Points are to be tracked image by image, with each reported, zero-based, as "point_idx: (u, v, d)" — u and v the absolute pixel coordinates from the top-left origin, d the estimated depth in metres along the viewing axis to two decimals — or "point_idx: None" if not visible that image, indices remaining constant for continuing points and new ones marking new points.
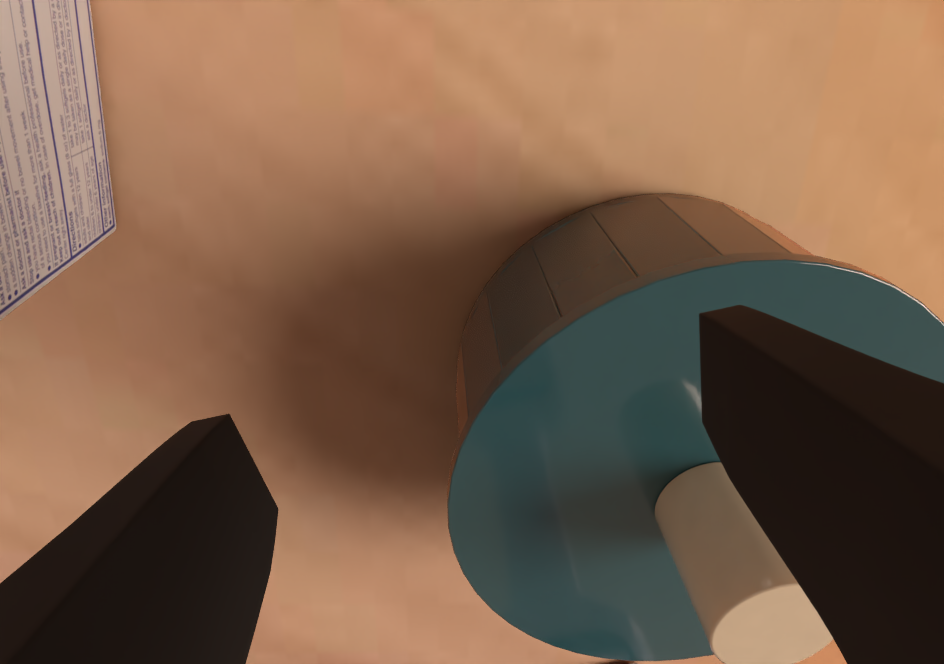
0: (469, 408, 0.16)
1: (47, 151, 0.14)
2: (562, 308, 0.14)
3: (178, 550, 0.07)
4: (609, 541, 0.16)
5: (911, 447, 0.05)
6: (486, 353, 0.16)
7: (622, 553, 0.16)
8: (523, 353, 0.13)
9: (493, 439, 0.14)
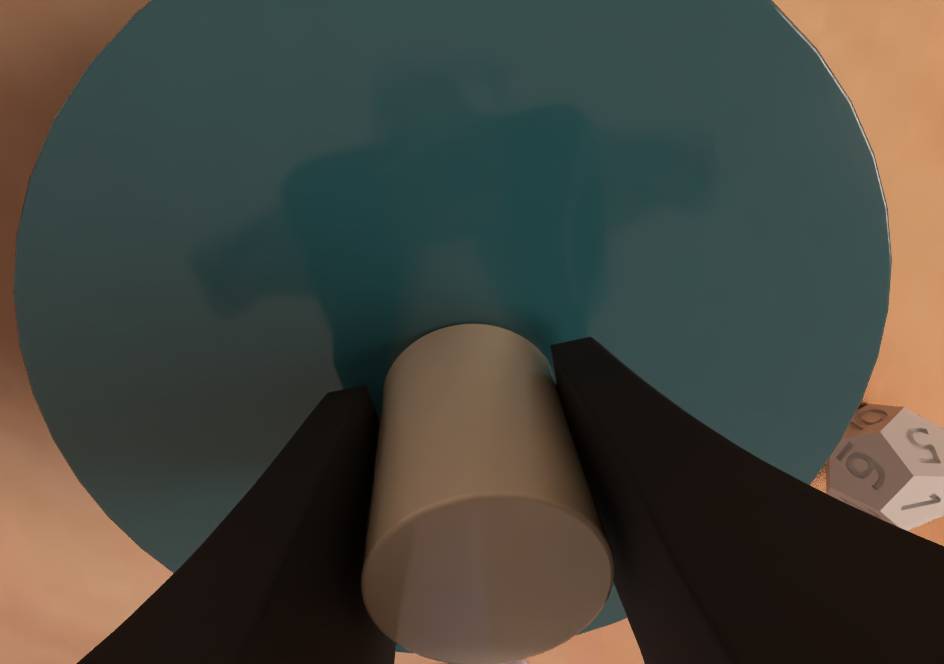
0: None
1: None
2: None
3: (348, 515, 0.07)
4: None
5: (648, 500, 0.05)
6: None
7: None
8: None
9: (63, 273, 0.08)
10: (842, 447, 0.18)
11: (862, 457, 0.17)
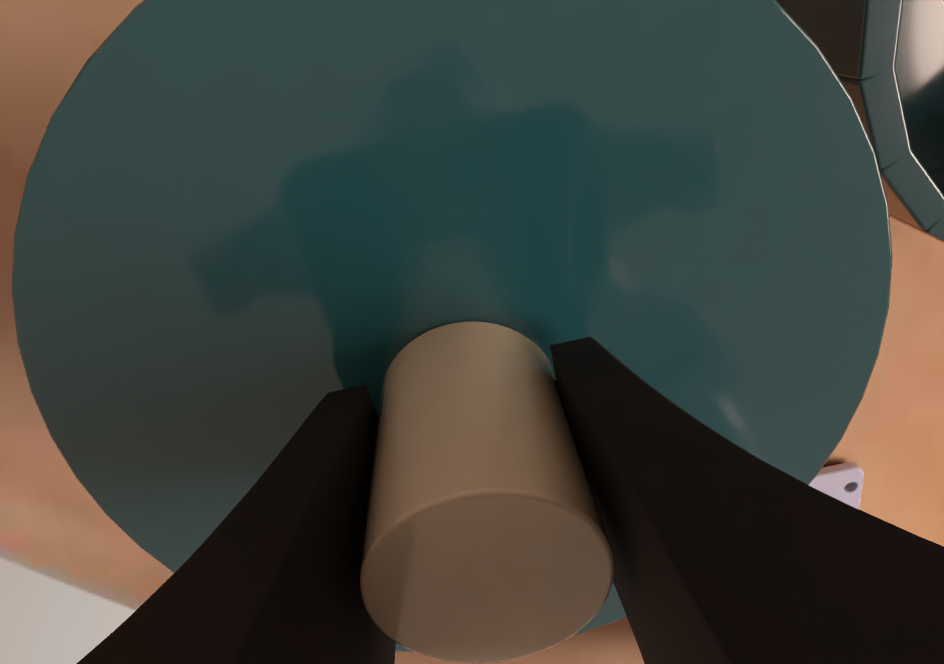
0: None
1: None
2: None
3: (348, 516, 0.07)
4: None
5: (648, 500, 0.05)
6: None
7: None
8: None
9: (61, 270, 0.08)
10: None
11: None
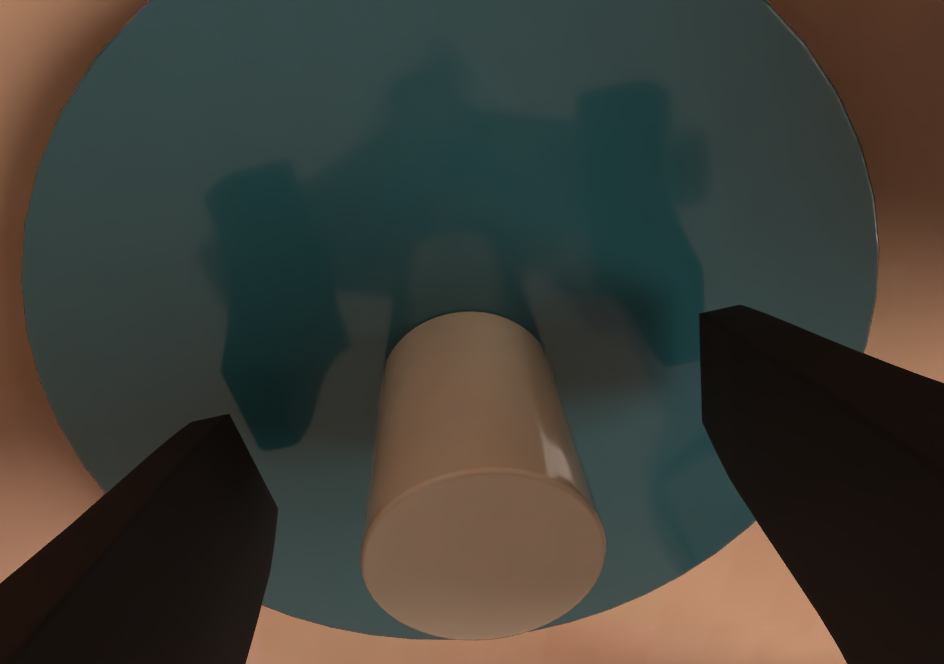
0: None
1: None
2: None
3: (178, 550, 0.07)
4: (327, 449, 0.10)
5: (911, 447, 0.05)
6: None
7: (353, 470, 0.11)
8: None
9: (70, 260, 0.09)
10: None
11: None
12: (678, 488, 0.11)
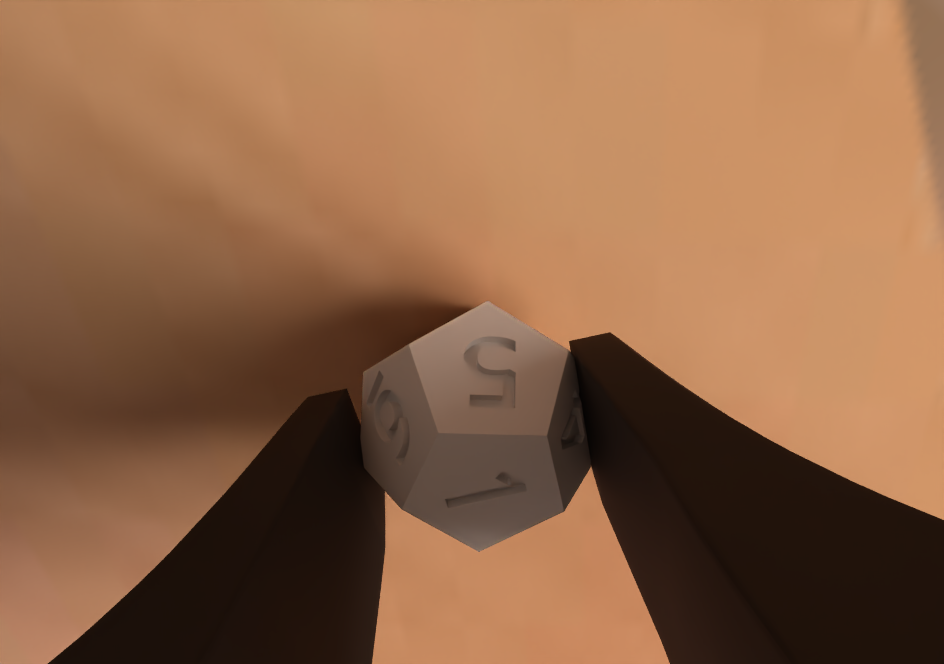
0: None
1: None
2: None
3: (324, 521, 0.07)
4: None
5: (682, 493, 0.05)
6: None
7: None
8: None
9: None
10: (374, 383, 0.09)
11: (396, 402, 0.09)
12: None
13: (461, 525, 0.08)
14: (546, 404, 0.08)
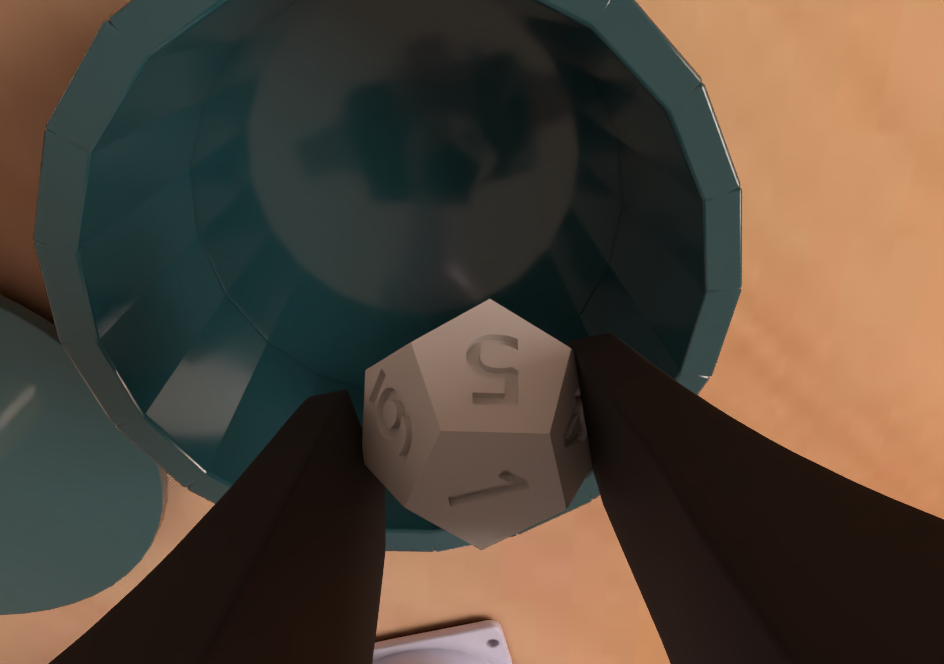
0: None
1: None
2: None
3: (324, 521, 0.07)
4: None
5: (682, 493, 0.05)
6: None
7: None
8: None
9: None
10: (376, 381, 0.09)
11: (398, 400, 0.09)
12: (89, 523, 0.20)
13: (463, 523, 0.08)
14: (549, 402, 0.08)
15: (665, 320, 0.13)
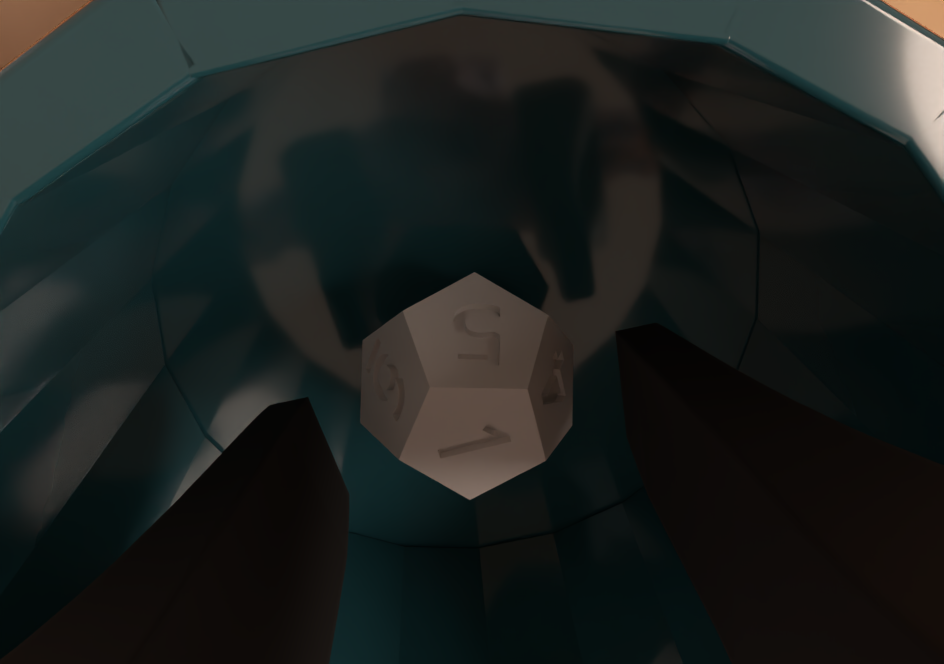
0: None
1: None
2: None
3: (275, 530, 0.07)
4: None
5: (762, 477, 0.05)
6: None
7: None
8: None
9: None
10: (372, 349, 0.10)
11: (392, 364, 0.09)
12: None
13: (453, 474, 0.09)
14: (527, 362, 0.09)
15: None
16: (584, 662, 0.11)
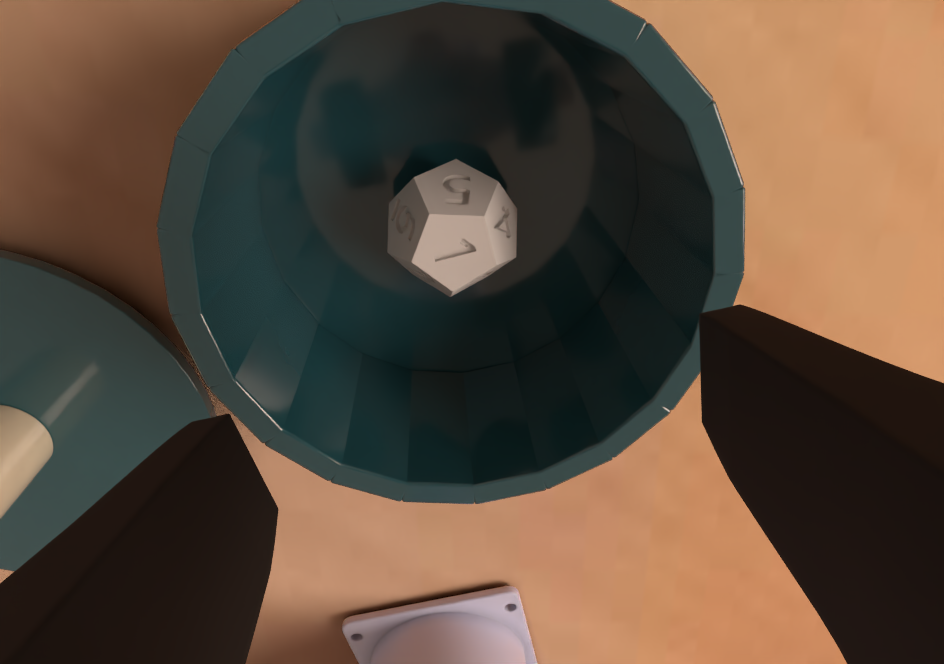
0: None
1: None
2: None
3: (178, 550, 0.07)
4: None
5: (911, 447, 0.05)
6: None
7: None
8: None
9: None
10: (395, 206, 0.16)
11: (407, 213, 0.16)
12: None
13: (442, 273, 0.16)
14: (484, 203, 0.15)
15: (678, 301, 0.15)
16: (527, 417, 0.18)
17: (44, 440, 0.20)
